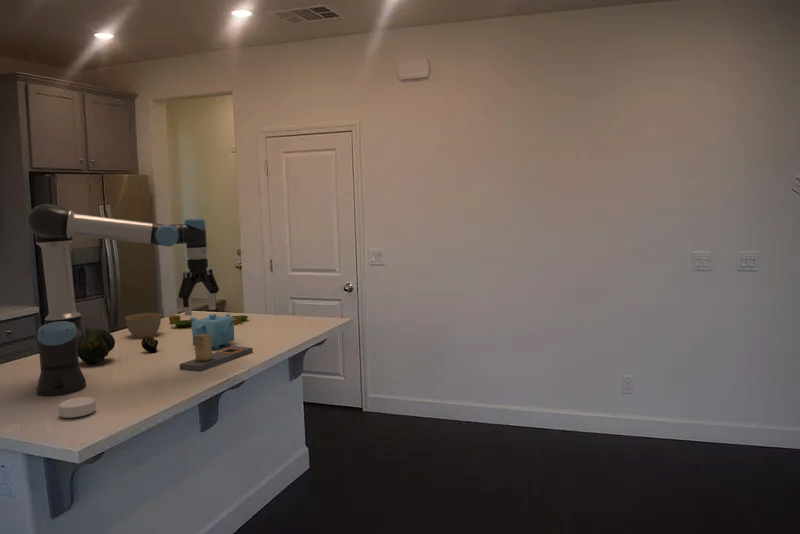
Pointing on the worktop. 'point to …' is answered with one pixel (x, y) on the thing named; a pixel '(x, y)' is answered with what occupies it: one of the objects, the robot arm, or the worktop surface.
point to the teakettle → (215, 329)
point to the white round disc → (77, 407)
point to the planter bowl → (143, 324)
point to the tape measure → (149, 344)
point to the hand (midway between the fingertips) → (200, 312)
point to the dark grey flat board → (217, 358)
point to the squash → (95, 345)
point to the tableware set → (188, 323)
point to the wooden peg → (203, 348)
